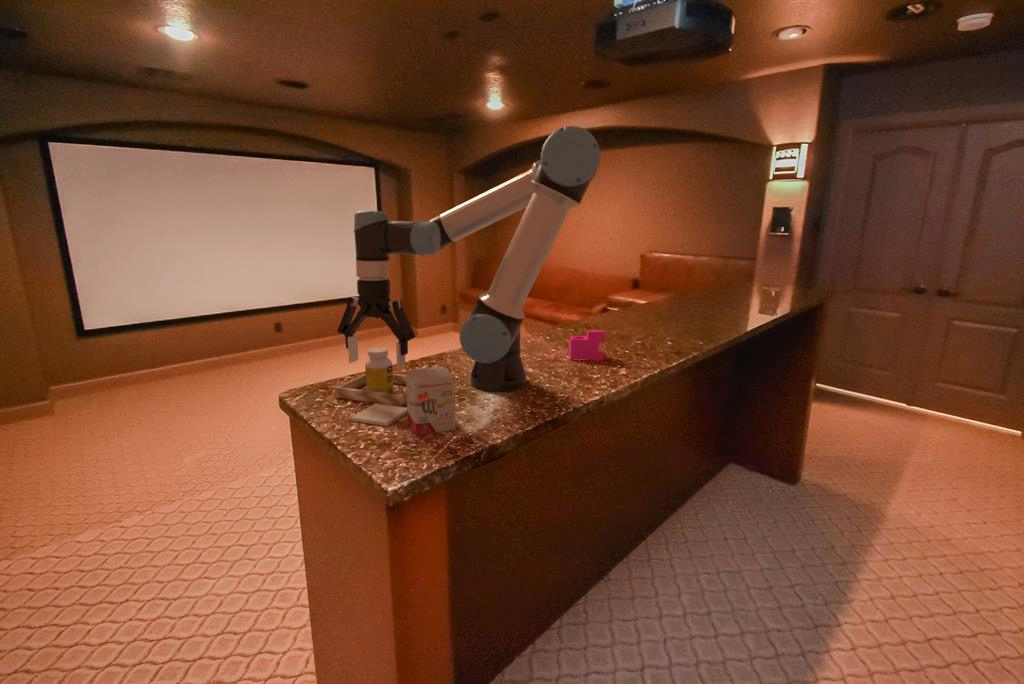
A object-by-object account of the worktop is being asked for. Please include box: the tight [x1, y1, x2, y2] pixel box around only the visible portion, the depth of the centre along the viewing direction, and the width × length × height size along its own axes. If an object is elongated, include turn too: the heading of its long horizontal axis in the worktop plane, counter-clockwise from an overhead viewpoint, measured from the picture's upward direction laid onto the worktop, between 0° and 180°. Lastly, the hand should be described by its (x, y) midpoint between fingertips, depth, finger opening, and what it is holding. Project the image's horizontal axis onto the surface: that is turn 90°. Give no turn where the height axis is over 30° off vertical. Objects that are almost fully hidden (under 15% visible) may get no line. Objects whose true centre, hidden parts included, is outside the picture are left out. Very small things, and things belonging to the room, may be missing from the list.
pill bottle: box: [364, 347, 395, 394], centre depth 118 cm, size 6×6×12 cm
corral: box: [334, 373, 407, 407], centre depth 121 cm, size 19×15×2 cm
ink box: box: [405, 366, 456, 437], centre depth 100 cm, size 9×9×12 cm
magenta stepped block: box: [568, 329, 606, 361], centre depth 154 cm, size 12×10×10 cm
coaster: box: [350, 403, 407, 427], centre depth 106 cm, size 9×9×1 cm
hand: (377, 364), depth 118 cm, fingers open, 13 cm apart
